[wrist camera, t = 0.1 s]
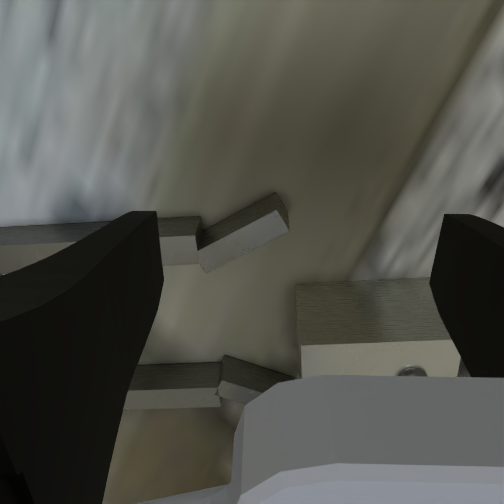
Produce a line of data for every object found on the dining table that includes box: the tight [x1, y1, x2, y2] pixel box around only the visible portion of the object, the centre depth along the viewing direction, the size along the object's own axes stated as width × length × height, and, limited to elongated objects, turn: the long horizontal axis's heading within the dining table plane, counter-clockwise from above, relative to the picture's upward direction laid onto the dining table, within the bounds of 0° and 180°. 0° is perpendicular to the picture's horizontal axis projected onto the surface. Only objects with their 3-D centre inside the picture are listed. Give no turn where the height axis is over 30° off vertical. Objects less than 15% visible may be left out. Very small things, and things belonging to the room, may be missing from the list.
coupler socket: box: [0, 192, 295, 410], centre depth 25 cm, size 13×17×4 cm
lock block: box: [295, 277, 461, 379], centre depth 24 cm, size 4×7×5 cm, turn 94°
